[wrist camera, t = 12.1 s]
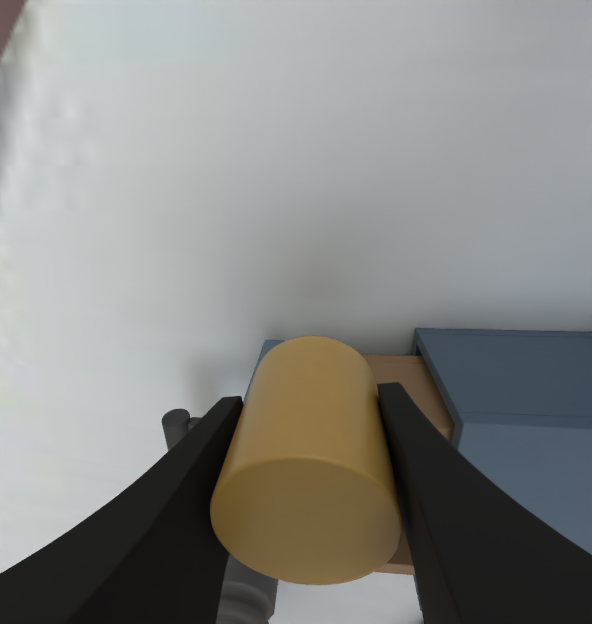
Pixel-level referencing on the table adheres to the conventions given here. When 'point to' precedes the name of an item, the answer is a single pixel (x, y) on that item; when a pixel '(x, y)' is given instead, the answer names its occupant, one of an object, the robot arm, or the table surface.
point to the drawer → (385, 370)
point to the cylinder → (309, 469)
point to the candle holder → (246, 595)
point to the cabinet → (521, 415)
